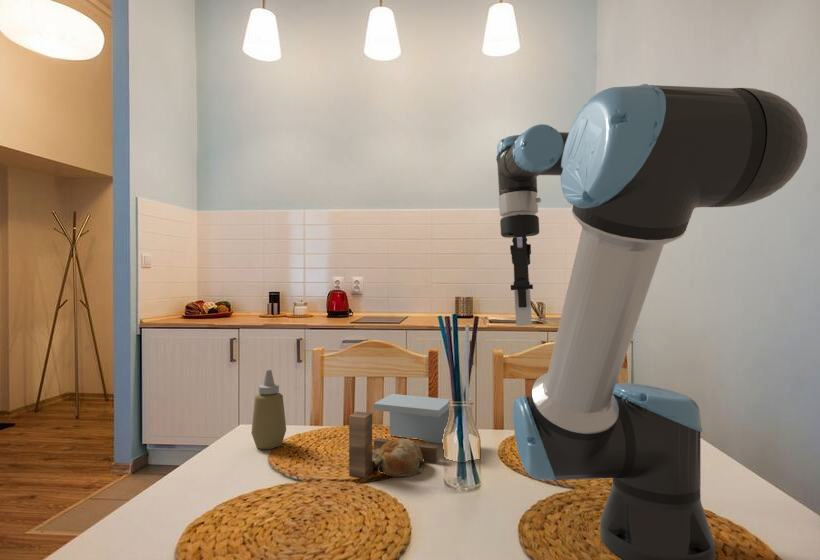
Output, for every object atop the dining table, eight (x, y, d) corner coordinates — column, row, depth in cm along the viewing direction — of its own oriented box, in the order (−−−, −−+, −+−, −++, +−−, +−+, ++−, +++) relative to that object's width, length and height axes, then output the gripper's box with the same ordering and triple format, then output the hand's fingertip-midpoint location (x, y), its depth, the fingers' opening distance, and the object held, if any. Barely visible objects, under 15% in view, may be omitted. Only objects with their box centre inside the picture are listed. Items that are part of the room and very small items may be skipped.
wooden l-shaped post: (415, 486, 92) (415, 423, 92) (347, 475, 97) (347, 415, 97) (438, 460, 105) (438, 405, 105) (377, 451, 111) (377, 399, 111)
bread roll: (411, 497, 96) (428, 462, 95) (365, 473, 97) (382, 437, 96) (416, 477, 105) (432, 444, 105) (375, 455, 106) (390, 423, 106)
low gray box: (438, 457, 107) (438, 410, 107) (373, 448, 113) (373, 403, 113) (452, 442, 116) (452, 399, 116) (391, 435, 122) (391, 393, 122)
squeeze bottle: (243, 449, 112) (243, 372, 112) (264, 438, 120) (264, 366, 120) (274, 453, 110) (274, 374, 110) (292, 441, 117) (292, 368, 117)
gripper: (539, 204, 83) (545, 327, 83) (538, 222, 107) (542, 318, 107) (495, 208, 85) (501, 328, 85) (503, 225, 109) (508, 319, 109)
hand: (524, 322), depth 96 cm, fingers open, 13 cm apart
